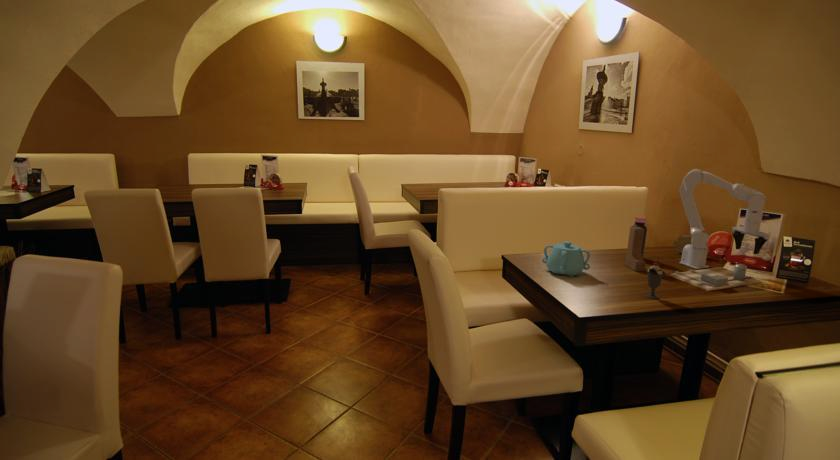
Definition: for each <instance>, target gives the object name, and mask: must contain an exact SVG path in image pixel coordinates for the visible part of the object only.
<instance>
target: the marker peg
mask: <svg viewBox="0 0 840 460" xmlns="http://www.w3.org/2000/svg"><path fill="white" fill-rule="evenodd" d="M747 269H748V266H747V265H746V264H744V263H736V264H735V265H734V269H733V271H734V275H733V279H735V280H740V281H743V280H744V279H745V275H746V273H747Z"/></svg>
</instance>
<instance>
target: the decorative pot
mask: <svg viewBox="0 0 840 460" xmlns="http://www.w3.org/2000/svg"><path fill="white" fill-rule="evenodd" d="M548 248H552V249H551V250H550V252H549V253H548V252H547V249H548ZM584 253H585V254H586V255H587V256H586V258H585V257H584ZM543 255H544V256H545V257H542V259H541V262H542V263H543V264H544V265H545V264H546V267H547V269H548V271H550V272H552V274H553V273H555V274H554V275H567V276H568V277H571V278H572V277H575V276H578V275H580V274H581V273H582V272H583V270H585V271H588V270H589V269H591V265H590V264H589V263H588V262H589V260H590V257H591V252H589V251H588V250H587V249H585V248H581V247H580V246H579V245H577V244H572V242H571V241H569V240H568V241H567V240H566V241H563V243H561V242H558V243H556V244H554V245H553V244H548V245H546V246H544V249H543Z"/></svg>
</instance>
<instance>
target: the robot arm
mask: <svg viewBox="0 0 840 460" xmlns="http://www.w3.org/2000/svg"><path fill="white" fill-rule="evenodd" d="M701 182H702V183H701ZM700 183H701V184H711V185H713V186H716V187H719V188H721V189H723V190H726V191H728V192H729V195H730V196H732V197H734V198H736V199H738V200H740V201H742V202H745V203H748V206H747V207H748V208H746V213H745V216H744V217H745V218H744V222H743V223H744V224H743V227H739V226H732V228H731V229H732V230H731V231H732V237H733V241H734V243H735V249H736V250H741V247H742V243H743V240H744V237H745V235H748V236H751V237H755V238H754V250H753V254H754V255H758V254H759V253H760V251H761V250H762V248H763V246H764V245H765V244H766V243H767V242H768V240H770V237H771V234H769V233H766V232H763V231H760V228H761V224H762V219H763V215H764V206H765V204H766V203H767V202H766V196H765V194H764V193H762V192H761V191H757V189H752V188H750V187H747V186H746V184H744V183H741V184H740V183H734V184H733V183H731V182H729V181H727V180H725V179H723V178H722V177H719V176H717V175H715V174H714V173H710V172H708V171H705V170H702V169H700V168H693V169H691V170H690V171H688V172H687V173H686V175H684V177H683V179H682V182H681V184H680V187H679V190H678V192H679V196H680V199H681V202H682V205H683V209H684V212H685V215H686V218H687V222H688V225H689V228H690V235H691V236H692V239H691V244H688V245H686V246H685V247H684V248H683V252H682V254H681V260H680V261H679V264H682V265H684V266H687V267H689V268H693V269H695V270H702V269H709V268H710V265H708V264H706V261H707V256H708V252H709V251H708V248H709V246H708V245H707V244H708V242H709V240H710V235H709V233H707V231H706V230H705V227H704V226H703V224H702V223H703V222H702V220H701V217H700V214H699V211H698V207H697V204H696V201H695V197H694V194H693V191H694V189H695V188H696V186H698V185H699V184H700Z"/></svg>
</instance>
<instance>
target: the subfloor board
mask: <svg viewBox="0 0 840 460" xmlns="http://www.w3.org/2000/svg"><path fill="white" fill-rule="evenodd" d="M705 273H715V274H718V275H721V276H724V277H726V278H728V282H727V285H725V286H718V287H715V286H714V285H712V284H709V283H706V282H704V281H701V275H702V274H705ZM733 275H734V270H731V269H728V268H724V267H721V266H720V267H719V266H717V267H713V268H712V267H711V268H710V267H709V268H702V269H695V270H694V269H693V270H692V269H689V270H687V271H682V272H681V271H680V272H679V271H675V272H673V273H670V277H672V278H675V279H677V280H680V281H683V282H684V283H688V284H690V285H692V286H695V287H697V288H700V289H702V290H706V291H708V292H709V291H710V292H711V291H716V290H722V289H729V288H735V287H741V286H747V285H748V284H749V285H752V284H751V283H755V284H757V283H756V282H760V283H761V279H758V278H755V277H753V276H749V275H746V274H745V279H744V280H743V281H740V280H735V279H733ZM749 285H748V286H749Z"/></svg>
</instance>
